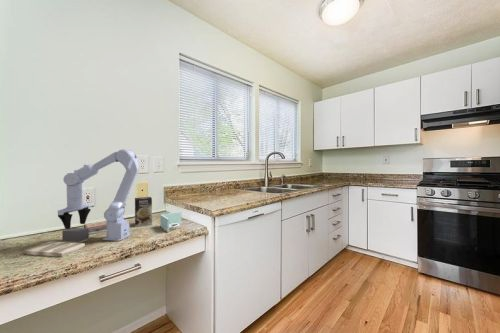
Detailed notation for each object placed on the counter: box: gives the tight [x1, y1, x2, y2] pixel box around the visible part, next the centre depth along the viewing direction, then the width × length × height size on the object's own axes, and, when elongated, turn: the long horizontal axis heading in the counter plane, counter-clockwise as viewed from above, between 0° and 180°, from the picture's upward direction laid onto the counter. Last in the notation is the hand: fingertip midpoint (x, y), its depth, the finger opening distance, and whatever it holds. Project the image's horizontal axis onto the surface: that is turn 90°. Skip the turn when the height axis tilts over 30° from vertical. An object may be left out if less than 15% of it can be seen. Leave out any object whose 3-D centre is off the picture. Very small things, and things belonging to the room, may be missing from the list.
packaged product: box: [83, 220, 107, 235], centre depth 119 cm, size 18×5×10 cm
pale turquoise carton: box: [159, 211, 182, 233], centre depth 123 cm, size 12×12×8 cm
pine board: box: [23, 240, 86, 258], centre depth 92 cm, size 18×10×2 cm, turn 82°
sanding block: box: [61, 227, 90, 243], centre depth 103 cm, size 9×5×6 cm, turn 82°
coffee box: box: [134, 196, 153, 228], centre depth 128 cm, size 9×6×16 cm
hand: (75, 226), depth 103 cm, fingers open, 7 cm apart
